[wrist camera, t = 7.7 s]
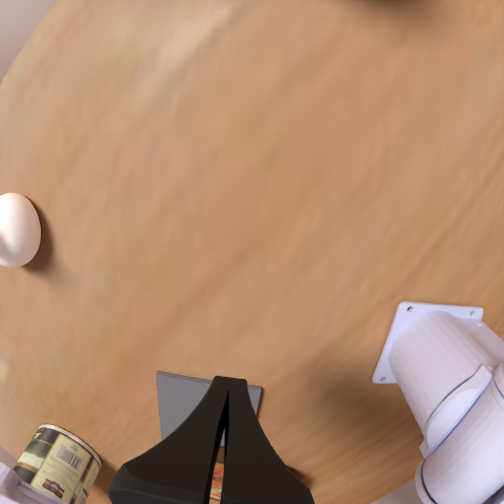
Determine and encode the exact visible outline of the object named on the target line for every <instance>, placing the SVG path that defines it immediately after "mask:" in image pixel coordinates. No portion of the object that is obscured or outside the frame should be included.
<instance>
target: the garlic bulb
mask: <svg viewBox="0 0 504 504" xmlns="http://www.w3.org/2000/svg"><path fill="white" fill-rule="evenodd" d="M40 240H41V226H40V221H39V217H38V214H37V212H36V210H35V208H34V207H33V205H32V204H31V202H30V201H29V200H28V199H27V198H26V197H24V196H22V195H20V194H17V193H7V194H4V195H1V196H0V265H2V266H5V267H9V268H17V267H20V266H23V265H25V264H27V263H28V262H30V261H31V260H32V258H33V257H34V256H35V255H36V253H37V251H38V248H39V245H40Z"/></svg>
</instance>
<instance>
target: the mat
mask: <svg viewBox="0 0 504 504" xmlns="http://www.w3.org/2000/svg"><path fill="white" fill-rule="evenodd" d="M156 376H157V390H158V403H159V414H160V424H161V434H162V440H164V439H165V438H166V437H167V436H169V435H170V434H171V433H172V432H173V431H174V430H175V429H176V428H178V427H179V426H180V425H181V424H182V423H183V422H184V421H185V419H186V418H187V417H188V416H189V415H190V414H191V412H192V411H193V410H194V409H195V408H196V406H197V405H198V404H199V402H200V401H201V400H202V398H203V397H204V395H205V394H206V392H207V390H208V389H209V387H210V385H211V383H212V381H211V380H205V379H198V378H192V377H186V376H181V375H175V374H170V373H165V372H160V371H158V372H157V374H156ZM247 386H248V392H249V396H250V400H251V403H252V406H253V409H254V411H255V414H256V413H257V408H258V403H259V398H260V393H261V387H259V386H249V385H247ZM224 430H225V429H224ZM220 447H224V433H223V437H222V441H221V445H220Z"/></svg>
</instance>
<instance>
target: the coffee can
mask: <svg viewBox="0 0 504 504" xmlns="http://www.w3.org/2000/svg"><path fill="white" fill-rule="evenodd" d="M101 466H102V463H101V461H100V458H99V457H98V455H97V454H96V453H95V452H94V450H93V449H92V448H91V447H90V446H88V445H87V444H86V443H85V442H83V441H82V440H81V439H79V438H78V437H76V436H75V435H73V434H72V433H70V432H68V431H66V430H64V429H62V428H60V427H58V426H55V425H51V424H42V425H41V426H40V427H39V429H38V431H37V432H36V434H35V435H34V437H33V438H32V440H31V442H30V443H29V445H28V446H27V448H26V449H25V451H24V452H23V454H22V455H21V457H20V459H19V460H18V462H17V463H16V465H15V467H14V468H13V470H14V471H15V472H16V473H17V475H18V476H19V478H20V479H21V480H22V481H24V482H26V483H28V484H30V485H31V486H33V487H35V488H37V489H39V490H41V491H43V492H45V493H47V494H49V495H51V496H53V497H55V498H57V499H60V500H62V501H64V502H66V503H68V504H85V502H86V500H87V497H88V495H89V493H90V490H91V488H92V486H93V483H94V481H95V479H96V476H97V474H98V472H99V470H100V469H101Z"/></svg>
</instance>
